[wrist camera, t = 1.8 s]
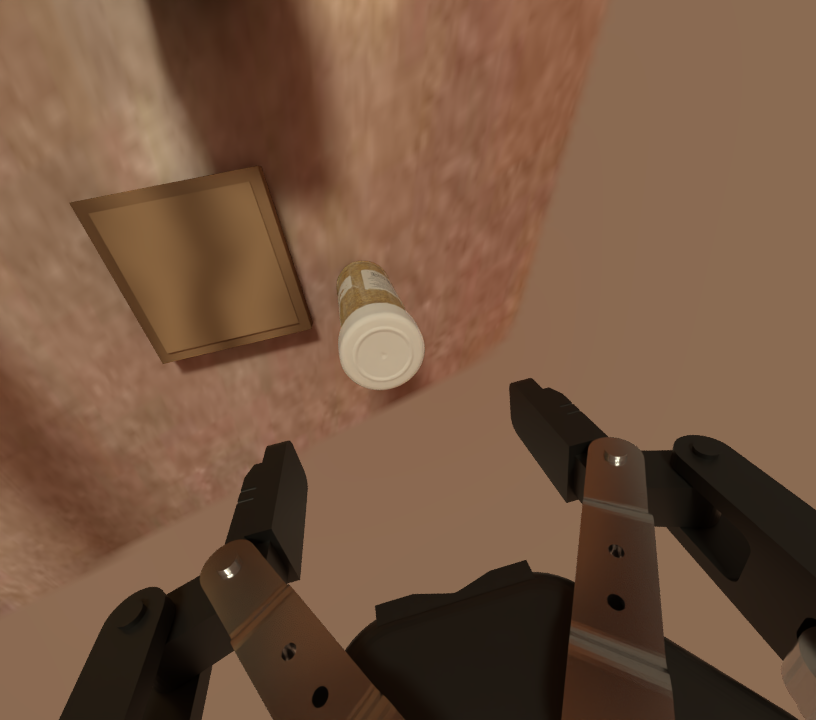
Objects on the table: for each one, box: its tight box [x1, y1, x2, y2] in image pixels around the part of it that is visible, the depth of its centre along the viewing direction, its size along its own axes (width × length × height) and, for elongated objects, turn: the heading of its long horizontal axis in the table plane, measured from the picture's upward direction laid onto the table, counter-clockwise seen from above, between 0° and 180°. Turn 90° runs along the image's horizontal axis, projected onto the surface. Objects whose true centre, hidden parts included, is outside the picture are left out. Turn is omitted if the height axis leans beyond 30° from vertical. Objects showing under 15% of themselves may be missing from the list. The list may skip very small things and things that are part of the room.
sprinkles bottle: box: [337, 261, 425, 390], centre depth 24 cm, size 5×5×13 cm
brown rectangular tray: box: [70, 166, 313, 364], centre depth 27 cm, size 12×12×2 cm
